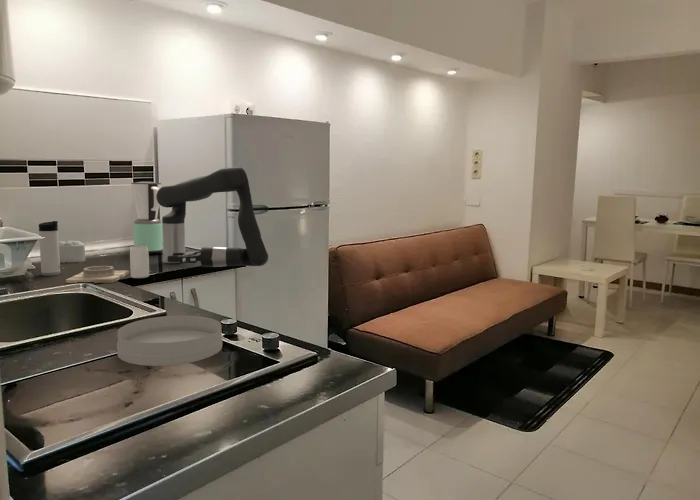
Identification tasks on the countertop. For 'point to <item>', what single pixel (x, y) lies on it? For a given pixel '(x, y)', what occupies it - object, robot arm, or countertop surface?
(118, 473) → the countertop surface
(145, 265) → the can
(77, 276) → the socket plate
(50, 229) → the travel mug
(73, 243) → the light grey rounded block
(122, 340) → the dish
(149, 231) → the juicer
